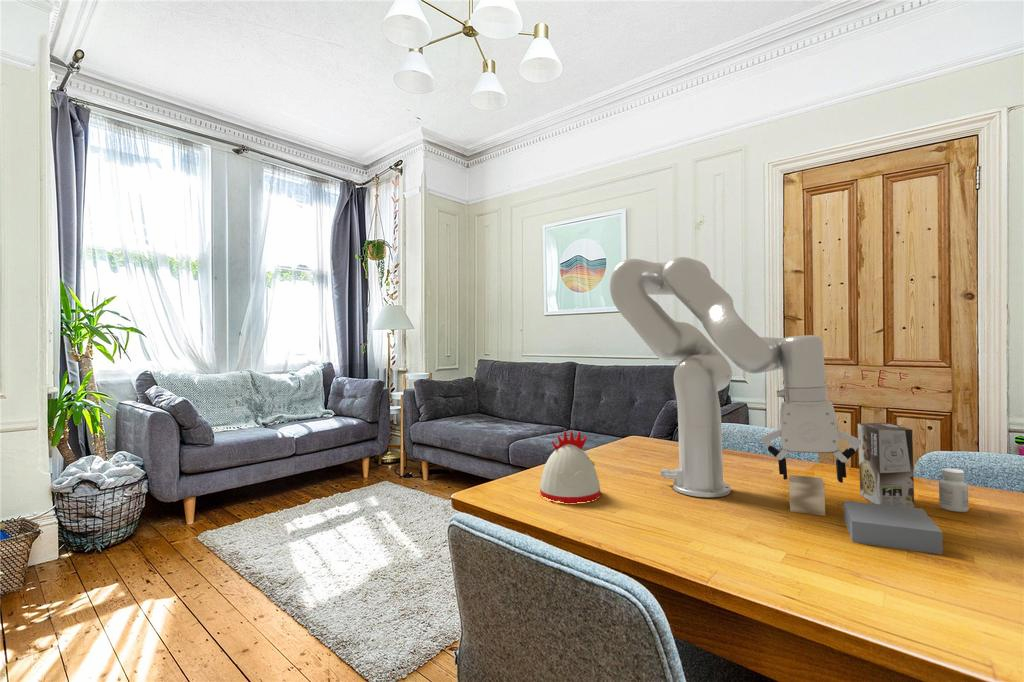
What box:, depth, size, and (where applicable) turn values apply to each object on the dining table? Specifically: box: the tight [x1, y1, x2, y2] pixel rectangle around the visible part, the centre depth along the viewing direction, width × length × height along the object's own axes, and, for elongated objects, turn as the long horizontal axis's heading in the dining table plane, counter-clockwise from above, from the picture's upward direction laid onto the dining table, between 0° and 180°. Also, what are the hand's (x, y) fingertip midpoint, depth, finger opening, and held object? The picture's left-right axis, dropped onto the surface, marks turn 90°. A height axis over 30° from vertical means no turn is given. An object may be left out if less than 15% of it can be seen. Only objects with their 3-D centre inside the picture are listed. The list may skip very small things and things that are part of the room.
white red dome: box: [539, 430, 601, 503], centre depth 116 cm, size 14×14×15 cm
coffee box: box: [857, 422, 915, 508], centre depth 105 cm, size 9×6×16 cm
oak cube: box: [788, 474, 826, 516], centre depth 102 cm, size 6×6×6 cm
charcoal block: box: [843, 500, 944, 555], centre depth 88 cm, size 12×12×4 cm
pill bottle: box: [938, 467, 970, 513], centre depth 100 cm, size 4×4×8 cm
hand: (812, 479), depth 101 cm, fingers open, 9 cm apart
